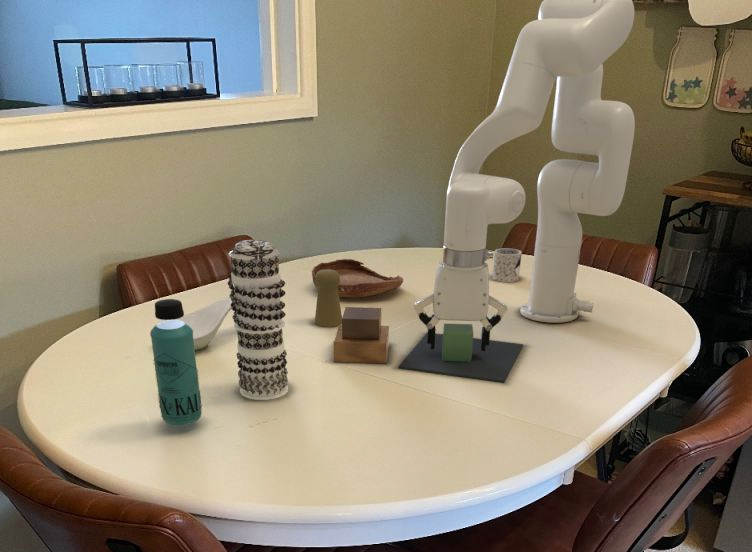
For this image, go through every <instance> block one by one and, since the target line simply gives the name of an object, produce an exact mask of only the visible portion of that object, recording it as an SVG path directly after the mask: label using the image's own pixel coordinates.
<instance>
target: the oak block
mask: <svg viewBox="0 0 752 552" xmlns="http://www.w3.org/2000/svg"><path fill="white" fill-rule="evenodd" d="M389 347H390V325H381V332H380V337H379V340H357V339H342V324H339V325H338V326H337V329H336V333H335V336H334V339H333V362H334V363H358V364H359V363H361V364H387V360H388V353H389Z"/></svg>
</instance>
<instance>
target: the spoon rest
mask: <svg viewBox="0 0 752 552" xmlns="http://www.w3.org/2000/svg"><path fill="white" fill-rule="evenodd" d="M231 303H232V301H231V298H230V297H225V298H222V299H219V300H217V301H215V302H213V303H211V304H209V305H206V306H205V307H202V308H200V309H198V310H195V311H193V312H190V313H188V314H184V316H183V317H181V318H178V319H174V320H178V321H182V322H184V323H186V324H187V325H188V326H190V327H191V328H192V330H193V340H194V349H195V351H198V350H202V349H204V348H205V347H207V346H208V344H209V343H210V342H211V341H212V340H213V339H214V338H215V336H216V334H217V332H218V331H219V328H220V327H221V326H222V324H223V322H224V320H225V318H226V317H227V315H228V314H229V313H230V311H232V307H231ZM235 305H236V304H235Z"/></svg>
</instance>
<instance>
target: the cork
mask: <svg viewBox="0 0 752 552" xmlns="http://www.w3.org/2000/svg"><path fill="white" fill-rule="evenodd" d="M315 281H316V284H317V286H318V290H317V296H316V304H315V315H314V316H315V317H314V324H315V325H316V326H320V327H324V328H326V327H327V328H329V327H338V326H339V324H342V317H343V314H342V308H341V307H342V306H341V301H340V297H339V293H338V285H339V283H340V275H339V273H338V272H337V271H335V270H330V269H325V270H320V271H319V272H317V274H316V277H315Z"/></svg>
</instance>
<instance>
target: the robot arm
mask: <svg viewBox="0 0 752 552" xmlns="http://www.w3.org/2000/svg"><path fill="white" fill-rule="evenodd" d="M537 13H538V14H537V19H535V20H532V21H530V22H527V23H526V24H525V25H524V26H523V27H522V28H521V31H520V32H519V34H518V36H517V39H516V42H515V45H514V48H513V52H512V55H511V58H510V61H509V64H508V68H507V70H506V73H505V78H504V80H503V83H502V87H501V91H500V93H499V96H498V100H497V103H496V105H495V107H494V110H493V111H492V113H491V114H489V115H488V116H487V117H486V118H485V119H484V120H483V121H481V123H480V124H478V125H477V127H476V128H475V129H474V130H473V131H472V132H471V134H470V135H469V136H468V137H467V138H466V140H464V142H463V144H462V145H461V147H460V149H459V150H458V153H457V155H456V158H455V161H454V164H453V167H452V171H451V174H450V178H449V182H448V186H447V190H446V198H445V217H444V232H443V233H444V234H443V253H442V255H443V256H442V260H441V261H439V262H438V263H437V268H436V272H435V279H434V289H433V293H432V294H430V295H428V296H426V297H424V298H422V299H420V300H418V301H415V302H414V305H413V308H414V310H415V312H416V315H417V317H418V319H419V320H420V322H422V323H423V325H425V327H426V329H427V333H428V339H427V344H431V350H433V349H434V348H435V334H436V325H437V324H438V323H439V322H440V321H461V322H462V321H465V322H480V323H481V325H482V327H481V335H480V339H481V350H482V351H485V346H486V345H489V340H491V331H492V330H493V328H494V327H495V326H497V325H498V324H500V322H501V321H502V319H503V317H504V316H505V314H506V313H507V311H508V305H507V304H505V303H503V302H502V301H500V300H498V299H497V298H495V297H493V296H491V295H490V271H489V263H487V260H489V259H491V260H494V250H489V249H488V248H487V238H488V237H487V235H488V228H489V225H493V224H494V225H495V224H497V225H498V224H507V223H510V222H513V221H514V220H516V219H517V218H518V217H519V216H520V215H521V214H522V212H523V210H524V208H525V206H526V205H525V204H526V198H527V197H526V191H525V188H524V187H523V185H522V184H521V183H520V182H518V181H517V180H515V179H512V178H508V177H503V176H495V175H489V174H482V173H480V170H481V168H482V166H483V164H484V162H485V160H487V158H488V157H489V156H490V154H491V153H493V152H494V151H496V149H497V148H499V147H501V146H502V145H504V144H505V143H508V142H510V141H513V140H514V139H517V138H520V137H522V136H523V135H527V134H529V133H531V132H533V131H535V130H536V129H538V128H539V127H540V125H541V124H542V122H543V120H544V115H545V113H546V109H547V106H548V103H549V100H550V97H551V94H552V91H553V89H554V85H555V93H554V102H553V103H554V104H553V112H552V119H551V120H552V121H551V131H550V132H551V133H550V137H551V144H552V145H553V147H554V148H555V149H556V150H559V151H561V152H565V153H570V154H580V155H590V156H597V157H598V162H592V161H587V160H579V159H569V158H560V159H559V158H558V159H554V160H551V161H550V162H548V163H546V164H545V165H544V166H543V167H542V169H541V170H540V173H538V174H539V175H538V179H537V185H536V192H537V193H536V195H537V208H538V209H537V224H536V225H537V226H536V236H535V243H534V251H533V252H534V253H533V261H532V268H531V277H530V284H529V285H530V286H529V294H528V302H526V303H523V304H521V306H520V310H519V312H520V314H521V315H522V316H523V317H524V318H526V319H529V320H530V321H531V320H532V321H536V322H539V323H540V322H541V323H549V324H550V323H551V324H561V323H568V322H573V321H574V320H576V319H577V318H578V317H579V311H580V312H585V313H593V308H594V302H590V301H589V300H584V299H583V300H582V299H579V298H576V297H577V292H575V289H576V282H577V275H578V269H579V268H578V267H579V263H580V255H581V248H582V244H583V243H582V242H583V226H582V223H581V221H580V218H579V217H580V216H579V215H578V214H584V215H591V216H597V217H607V216H611V215H613V214H614V213H615V212H616V211H618V209H619V208H620V207H621V205H622V201H623V199H624V196H625V191H626V186H627V180H628V175H629V168H630V162H631V157H632V151H633V144H634V138H635V131H636V120H635V119H636V118H635V114H634V111H633V109H632V108H631V106H630V105H628V104H627V103H625V102H623V101H619V100H608V99H607V100H605V99H602V97H601V95H602V85H603V77H604V66H603V63H605V62H606V61H607V60H608V59H609V58H610V57H611V56H613V54H614V53H616V52H617V51H618V50H619V49H620V48H621V47H622V46H623V45H624V43H625V42H626V40H627V39H628V37H629V35H630V34H631V31H632V29H633V25H634V22H635V5H634V2H633V0H542V1H541V4H540V5H539V9H538V12H537ZM555 82H556V83H555ZM429 305H432V309H433V310H432V311H433V312H432V314H431V315H430V316H429V315H428V314H427V313H426V312H425V310H424V308H426V307H428V306H429ZM489 306H490V307H492V308H494V309H496V310H497V311H496V312H495V313H494V315H492V316H491V317H490V318H489V316H488V313H489Z"/></svg>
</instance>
